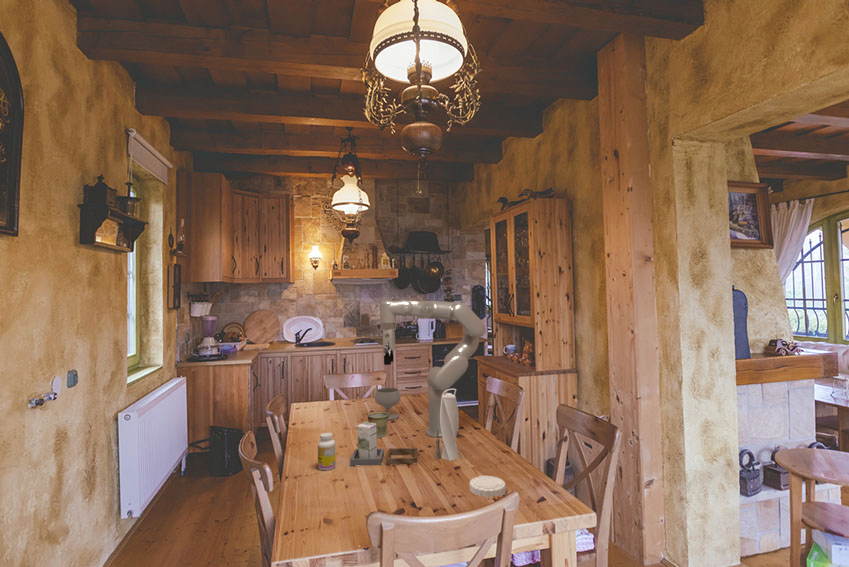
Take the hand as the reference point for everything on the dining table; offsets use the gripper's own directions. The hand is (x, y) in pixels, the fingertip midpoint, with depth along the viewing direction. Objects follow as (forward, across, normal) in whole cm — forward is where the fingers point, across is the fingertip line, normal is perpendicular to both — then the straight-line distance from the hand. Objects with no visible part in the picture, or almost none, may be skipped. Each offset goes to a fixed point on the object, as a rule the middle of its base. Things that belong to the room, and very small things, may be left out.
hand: (388, 363), depth 207 cm
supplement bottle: (+35, -36, +20) cm, 55 cm away
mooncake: (+35, -58, -40) cm, 78 cm away
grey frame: (+35, -29, +6) cm, 46 cm away
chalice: (+35, +35, +5) cm, 50 cm away
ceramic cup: (+35, +4, +5) cm, 36 cm away
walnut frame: (+35, -28, -8) cm, 45 cm away
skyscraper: (+35, -28, -28) cm, 53 cm away
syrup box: (+35, -29, +6) cm, 46 cm away
